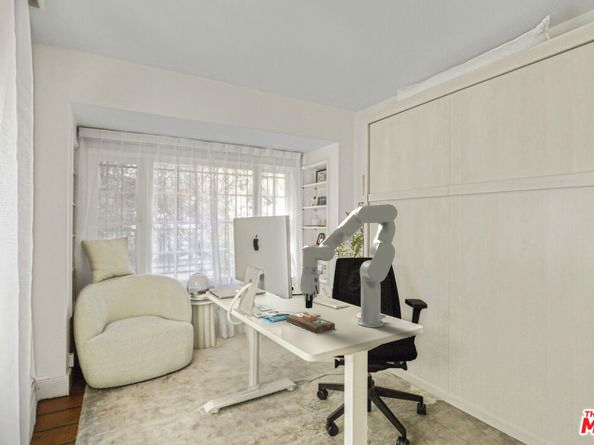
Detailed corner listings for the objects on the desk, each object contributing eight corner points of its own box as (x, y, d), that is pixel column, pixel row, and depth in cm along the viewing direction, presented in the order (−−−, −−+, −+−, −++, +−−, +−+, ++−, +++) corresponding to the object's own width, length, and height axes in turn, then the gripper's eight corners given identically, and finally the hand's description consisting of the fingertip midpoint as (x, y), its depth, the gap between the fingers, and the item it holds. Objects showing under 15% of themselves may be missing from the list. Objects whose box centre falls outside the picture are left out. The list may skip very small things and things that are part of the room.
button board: (305, 317, 175) (305, 312, 175) (334, 328, 156) (334, 323, 156) (286, 321, 168) (286, 316, 168) (315, 333, 149) (315, 327, 149)
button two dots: (310, 319, 165) (310, 313, 165) (316, 322, 161) (317, 315, 161) (302, 321, 162) (302, 314, 162) (308, 323, 158) (309, 317, 158)
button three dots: (320, 326, 159) (320, 319, 159) (327, 328, 155) (327, 322, 155) (312, 328, 156) (312, 321, 156) (319, 330, 152) (319, 323, 152)
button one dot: (301, 319, 171) (301, 313, 171) (307, 321, 167) (307, 315, 167) (293, 320, 168) (293, 314, 168) (299, 322, 164) (299, 316, 164)
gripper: (325, 272, 158) (324, 310, 158) (306, 268, 170) (305, 304, 170) (313, 272, 154) (312, 312, 154) (294, 269, 166) (293, 305, 166)
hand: (308, 307), depth 162 cm, fingers closed
